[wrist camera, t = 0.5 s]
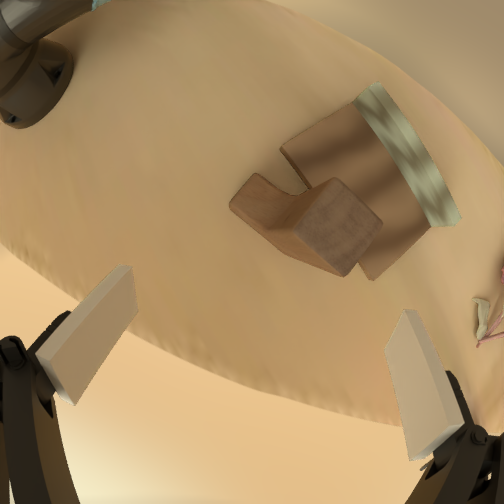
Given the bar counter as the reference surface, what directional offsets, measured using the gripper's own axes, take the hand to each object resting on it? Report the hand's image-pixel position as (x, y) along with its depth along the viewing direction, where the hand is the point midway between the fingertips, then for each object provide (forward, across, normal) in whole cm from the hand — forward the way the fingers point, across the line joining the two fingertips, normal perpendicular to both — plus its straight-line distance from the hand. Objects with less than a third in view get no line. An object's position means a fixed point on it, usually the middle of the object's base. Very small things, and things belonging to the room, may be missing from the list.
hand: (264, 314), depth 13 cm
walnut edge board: (+26, +11, +2) cm, 28 cm away
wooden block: (+22, -1, -3) cm, 22 cm away
